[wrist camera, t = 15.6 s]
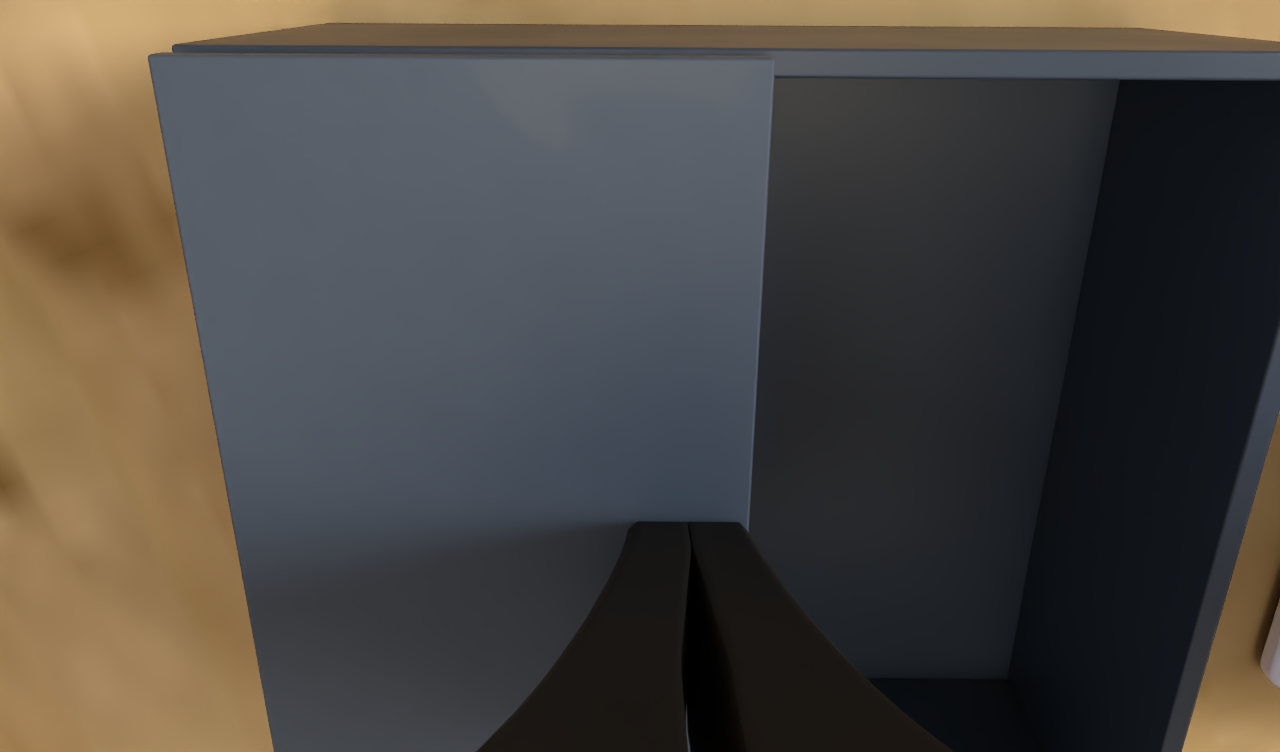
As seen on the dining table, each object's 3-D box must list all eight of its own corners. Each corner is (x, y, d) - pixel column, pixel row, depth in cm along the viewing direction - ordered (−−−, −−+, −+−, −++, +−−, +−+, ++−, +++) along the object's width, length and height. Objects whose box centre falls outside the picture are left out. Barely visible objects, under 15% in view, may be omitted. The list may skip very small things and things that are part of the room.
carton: (400, 675, 20) (318, 906, 15) (326, 22, 15) (170, 44, 10) (1014, 681, 20) (1136, 913, 15) (1139, 28, 15) (1384, 51, 10)
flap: (315, 928, 14) (308, 947, 14) (159, 52, 10) (145, 53, 9) (723, 929, 14) (725, 947, 14) (772, 55, 10) (775, 58, 9)
